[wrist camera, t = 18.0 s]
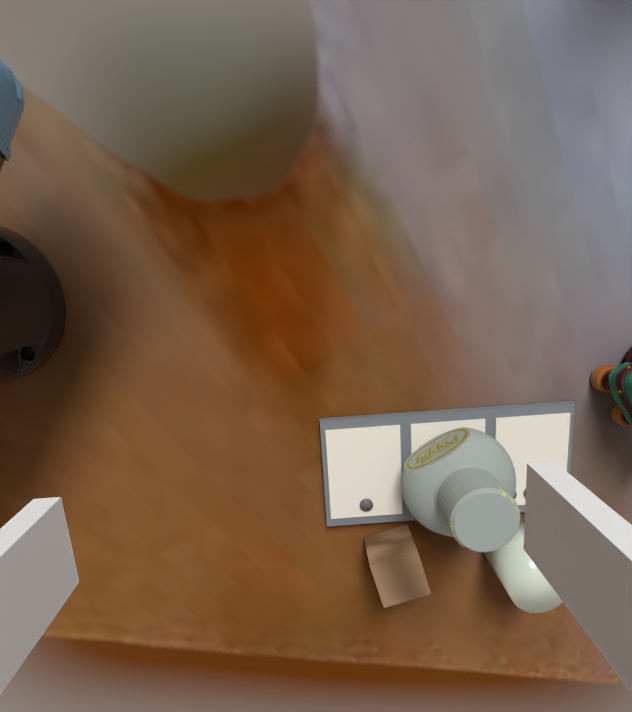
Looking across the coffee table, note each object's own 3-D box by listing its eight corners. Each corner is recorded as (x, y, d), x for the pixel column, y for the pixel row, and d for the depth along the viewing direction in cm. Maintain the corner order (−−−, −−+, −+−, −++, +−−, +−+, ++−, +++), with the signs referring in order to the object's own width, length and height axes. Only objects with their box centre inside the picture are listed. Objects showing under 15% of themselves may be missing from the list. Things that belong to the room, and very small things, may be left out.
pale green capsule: (480, 566, 50) (508, 615, 43) (481, 518, 48) (510, 561, 42) (533, 562, 50) (569, 610, 43) (535, 514, 49) (573, 556, 42)
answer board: (326, 522, 48) (327, 528, 47) (319, 418, 45) (319, 422, 44) (563, 504, 48) (569, 511, 47) (570, 400, 46) (577, 404, 44)
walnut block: (376, 573, 50) (383, 608, 45) (363, 536, 49) (370, 567, 44) (418, 561, 50) (431, 594, 45) (407, 523, 48) (418, 553, 44)
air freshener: (474, 408, 45) (522, 448, 35) (512, 472, 46) (568, 527, 36) (382, 464, 46) (403, 517, 36) (422, 524, 47) (453, 592, 37)
